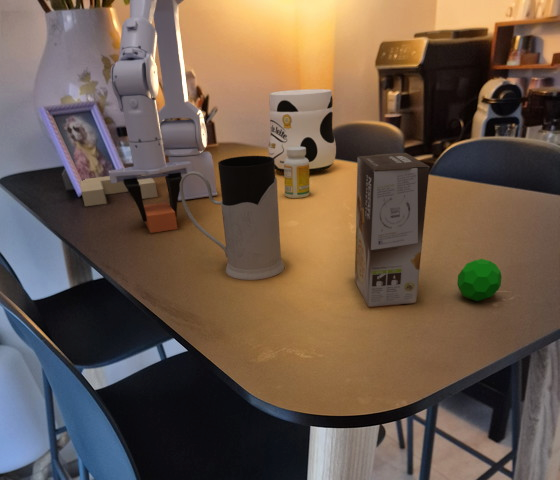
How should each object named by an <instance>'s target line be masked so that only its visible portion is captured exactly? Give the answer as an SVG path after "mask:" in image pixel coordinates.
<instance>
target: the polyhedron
mask: <svg viewBox="0 0 560 480" xmlns="http://www.w3.org/2000/svg"><path fill="white" fill-rule="evenodd" d="M456 282H457V283H456V284H457V287H458V290H459V292H460V293H461V295H462V296H463V297H465V298H466V299H469V300H470V301H474V302H480V301H483V300H486V299H489V298H493V296H494V295H495V294H496V293H497V292H498V290H499V289H500V288H501V285H502V272H501V270H500V268H499V266H497V264H496V263H494V262H492V261H491V260H488V259H484V258H479V259H475V260H472V261H469V262H467V263H466V264H465V265H464V267H463V268H462V270H460V272H459V273H458V275H457V281H456Z"/></svg>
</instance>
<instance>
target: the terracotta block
mask: <svg viewBox="0 0 560 480" xmlns="http://www.w3.org/2000/svg"><path fill="white" fill-rule="evenodd" d="M143 205H144V209H145V213H146V219H147V221H146V222H144V223H145V225H146V227H147V229H148V231H149V232H150V234H153V233H154V234H155V233H162V232H167V231H174V230H178V222H177V217H176V216H175V211H174V210H173V209H172V207H171V206H170V202H168V201H164V202H157V203H151V204H143Z"/></svg>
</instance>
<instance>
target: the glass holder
mask: <svg viewBox="0 0 560 480" xmlns="http://www.w3.org/2000/svg"><path fill="white" fill-rule="evenodd" d="M217 164H218V174H219V184H220V192H221V201H219V200H215V198H214V196H212V191H211V186H210V184H209V181H208V179H207V178H206V177H205V176H204V175H203V174H201V173H199V172H189V173H187V174H185V175H184V176H183V177H182V179H181V182H180V195H181V199H182V200H181V204H182V206H183V208H184V211H185V213H186V215H187V216H188V218H189V220H190V221H191V222H192V224H193V225H194V227H195V228H196V229H197V230H198V231H200V232H201V233H202V234H203V235H204V236H206V238H208V239H209V240H211V241H212V242H213V243H214V244H216V245H217V246H219V248H221V249H222V250H223V251H224V254H225V258H226V259H227V263H226V264H227V265H226V267H225V273H226V275H228V276H229V277H231V278H232V279H233V278H234V279H236V280H237V279H238V280H244V281H256V280H264V279H268V278H269V279H270V278H272V277H275V276H277V275H279V274H281V273H282V272H284V270H285V264H284V262H283V260H282V253H281V251H282V250H281V234H280V213H279V195H278V179H277V177H276V169H275V162H274V158H272V157H269V155H268V156H266V155H241V156H235V157H228V158H225V159H222V160H219V161H218V162H217ZM189 175H198V176H199V177H201V178H202V179H203V180H204V182H205V183H206V186H207V189H208V194H209V197H208V198H209V200H210V202H211V203H212V204H214V205H219V206H221V213H222V223H223V231H224V232H223V233H224V240H225V245H224V243H222V242H221V241H220V240H218V239H217V238H215V236H213V235H212V234H210V233H209V232H208V231H206V229H204V228H203V227H202V226H201V225H200V223H198V221H197V220H196V219H195V218H194V216H193V214H192V212H191V211H190V209H189V206H188V203H187V202H186V200H185V197H184V192H183V182H184V179H185V178H186V177H187V176H189Z"/></svg>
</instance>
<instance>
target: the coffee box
mask: <svg viewBox="0 0 560 480" xmlns="http://www.w3.org/2000/svg"><path fill="white" fill-rule="evenodd" d="M356 160H357V161H356V162H357V163H356V166H357V167H356V168H357V169H356V170H357V171H356V173H357V174H356V209H355V210H356V211H355V252H354V253H355V254H354V257H355V258H354V282H355V284H356V286H357V288H358V290H359V292H360V294H361V296H362V298H363V299H364V301H365V303H366V305H367V306H368V307H370V308H371V307H373V308H374V307H382V306H394V305H409V304H415V303H416V302H417V299H418V290H419V289H418V288H419V279H420V270H421V269H420V268H421V259H422V258H421V257H422V248H423V240H424V239H423V237H424V227H425V218H426V217H425V216H426V206H427V199H428V198H427V196H428V189H429V188H428V187H429V177H430V176H429V175H430V168H431V167H430V166H429V165H428V164H426V163H424V162H422V161H421V160H419V159H417V158H416V157H415V156H412V155H411V154H409V153H407V152H395V153H381V154H380V153H379V154H373V155H363V156H361V155H360V156H357V159H356Z"/></svg>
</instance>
